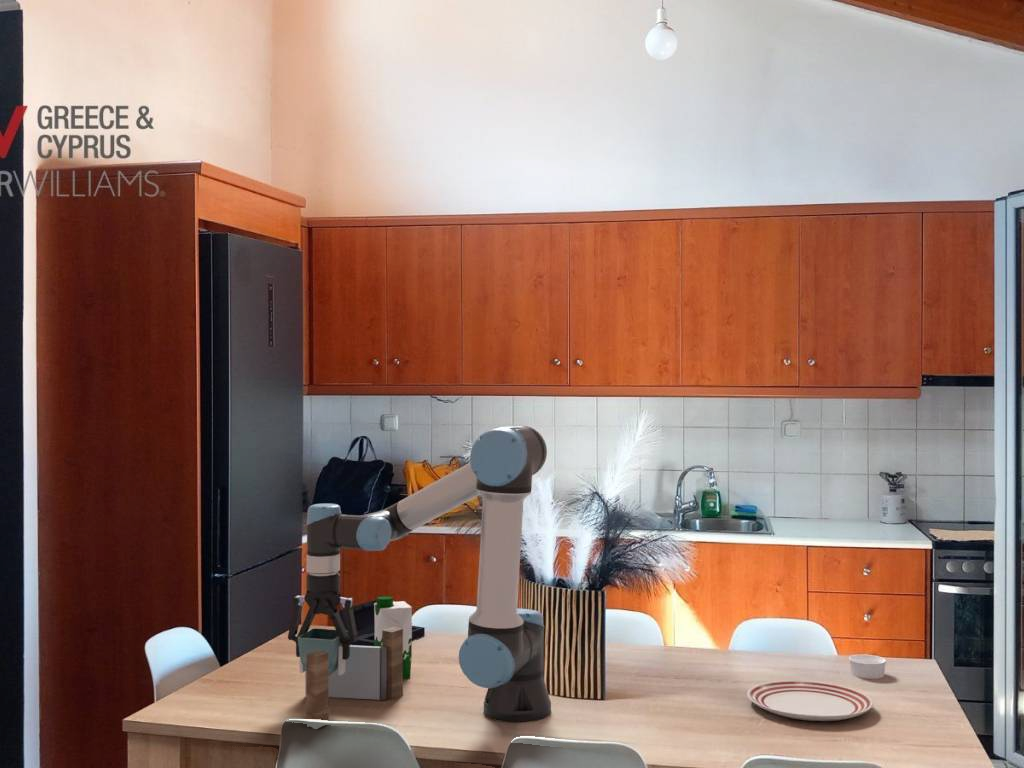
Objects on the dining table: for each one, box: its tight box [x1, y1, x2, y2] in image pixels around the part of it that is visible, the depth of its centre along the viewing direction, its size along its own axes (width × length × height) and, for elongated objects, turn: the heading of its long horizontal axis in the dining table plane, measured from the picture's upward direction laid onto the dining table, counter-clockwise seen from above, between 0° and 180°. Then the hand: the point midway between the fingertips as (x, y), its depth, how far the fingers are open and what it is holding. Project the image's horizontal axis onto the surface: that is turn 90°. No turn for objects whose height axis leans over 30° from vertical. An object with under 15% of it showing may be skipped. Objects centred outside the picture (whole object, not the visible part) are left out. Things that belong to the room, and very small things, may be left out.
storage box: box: [338, 598, 426, 646], centre depth 287 cm, size 21×16×10 cm
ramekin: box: [848, 653, 887, 680], centre depth 253 cm, size 9×9×4 cm
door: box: [304, 644, 388, 701], centre depth 234 cm, size 20×3×12 cm, turn 81°
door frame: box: [305, 627, 404, 720], centre depth 224 cm, size 3×28×16 cm, turn 146°
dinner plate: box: [746, 679, 874, 722], centre depth 227 cm, size 28×27×3 cm
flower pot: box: [298, 627, 347, 675], centre depth 227 cm, size 9×9×9 cm
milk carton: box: [374, 595, 413, 680], centre depth 251 cm, size 9×9×20 cm
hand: (322, 672), depth 227 cm, fingers closed on flower pot, 8 cm apart
